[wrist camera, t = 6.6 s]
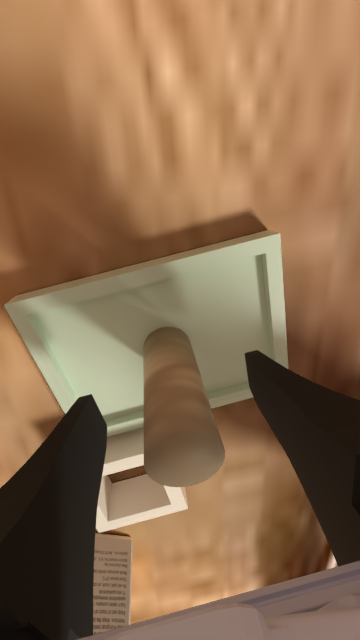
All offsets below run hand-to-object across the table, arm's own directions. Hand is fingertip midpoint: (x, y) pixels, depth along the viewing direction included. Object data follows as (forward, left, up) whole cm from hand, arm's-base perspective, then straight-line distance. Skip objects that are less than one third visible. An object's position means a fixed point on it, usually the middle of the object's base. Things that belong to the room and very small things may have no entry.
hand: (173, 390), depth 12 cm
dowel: (0, 0, -4) cm, 4 cm away
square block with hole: (+5, +9, -5) cm, 11 cm away
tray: (0, 0, -5) cm, 5 cm away
